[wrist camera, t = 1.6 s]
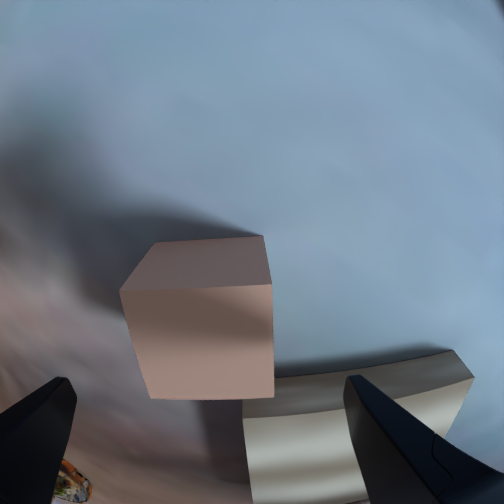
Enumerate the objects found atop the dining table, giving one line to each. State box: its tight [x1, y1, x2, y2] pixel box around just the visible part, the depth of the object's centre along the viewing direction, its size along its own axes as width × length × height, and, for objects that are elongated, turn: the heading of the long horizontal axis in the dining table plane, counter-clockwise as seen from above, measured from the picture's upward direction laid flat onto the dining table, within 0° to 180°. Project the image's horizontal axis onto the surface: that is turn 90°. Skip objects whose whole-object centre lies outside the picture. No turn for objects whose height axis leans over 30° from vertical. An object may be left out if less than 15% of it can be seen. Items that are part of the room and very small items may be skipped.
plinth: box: [242, 350, 475, 504], centre depth 19 cm, size 14×14×3 cm
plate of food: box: [51, 460, 92, 504], centre depth 20 cm, size 12×12×8 cm
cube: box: [119, 236, 274, 400], centre depth 13 cm, size 5×5×5 cm
